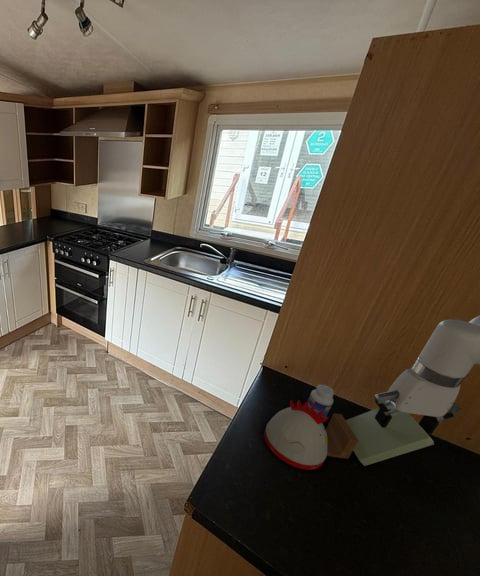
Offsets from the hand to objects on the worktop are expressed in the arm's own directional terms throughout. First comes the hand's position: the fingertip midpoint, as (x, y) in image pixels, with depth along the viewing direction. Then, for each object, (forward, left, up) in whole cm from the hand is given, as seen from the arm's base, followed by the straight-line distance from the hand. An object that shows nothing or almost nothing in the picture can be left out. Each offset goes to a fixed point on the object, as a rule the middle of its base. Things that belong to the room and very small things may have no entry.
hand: (401, 426), depth 77 cm
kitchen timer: (+23, +2, -10) cm, 25 cm away
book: (+3, 0, -4) cm, 5 cm away
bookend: (+13, 0, -9) cm, 16 cm away
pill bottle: (+13, -10, -10) cm, 19 cm away
